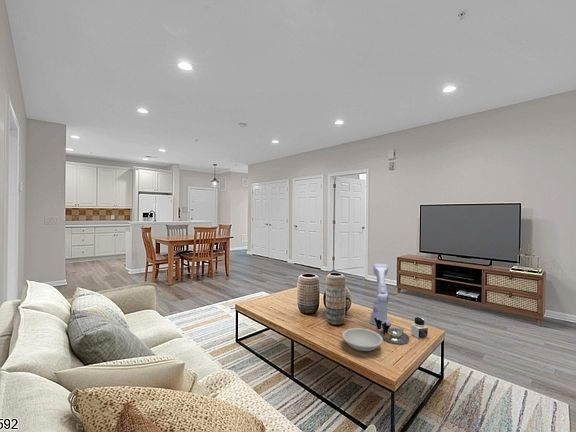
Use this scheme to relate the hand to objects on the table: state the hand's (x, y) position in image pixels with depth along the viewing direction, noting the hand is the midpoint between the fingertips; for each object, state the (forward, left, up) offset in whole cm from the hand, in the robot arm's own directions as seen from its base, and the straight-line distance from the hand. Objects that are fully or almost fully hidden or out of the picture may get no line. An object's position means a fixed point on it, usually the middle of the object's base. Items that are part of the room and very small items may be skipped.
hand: (381, 331), depth 183 cm
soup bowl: (+2, -22, -3) cm, 23 cm away
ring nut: (+6, +5, -1) cm, 8 cm away
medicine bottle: (+14, +21, -3) cm, 25 cm away
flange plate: (+6, +5, -3) cm, 8 cm away
